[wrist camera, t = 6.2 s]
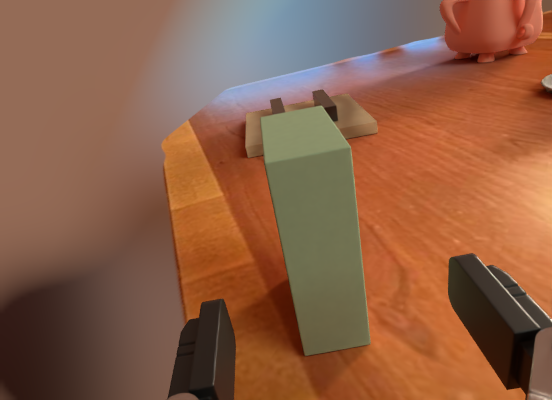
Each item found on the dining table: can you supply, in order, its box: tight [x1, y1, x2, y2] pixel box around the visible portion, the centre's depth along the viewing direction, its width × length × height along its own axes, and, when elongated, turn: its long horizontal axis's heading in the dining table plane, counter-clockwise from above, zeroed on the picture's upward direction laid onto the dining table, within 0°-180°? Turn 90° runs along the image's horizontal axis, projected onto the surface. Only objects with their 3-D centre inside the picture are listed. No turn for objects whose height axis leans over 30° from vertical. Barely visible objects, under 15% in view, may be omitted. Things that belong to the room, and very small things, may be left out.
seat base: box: [245, 90, 378, 158], centre depth 55 cm, size 16×16×4 cm
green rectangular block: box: [260, 106, 371, 356], centre depth 21 cm, size 4×7×11 cm, turn 4°
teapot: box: [440, 0, 543, 62], centre depth 71 cm, size 16×17×14 cm
